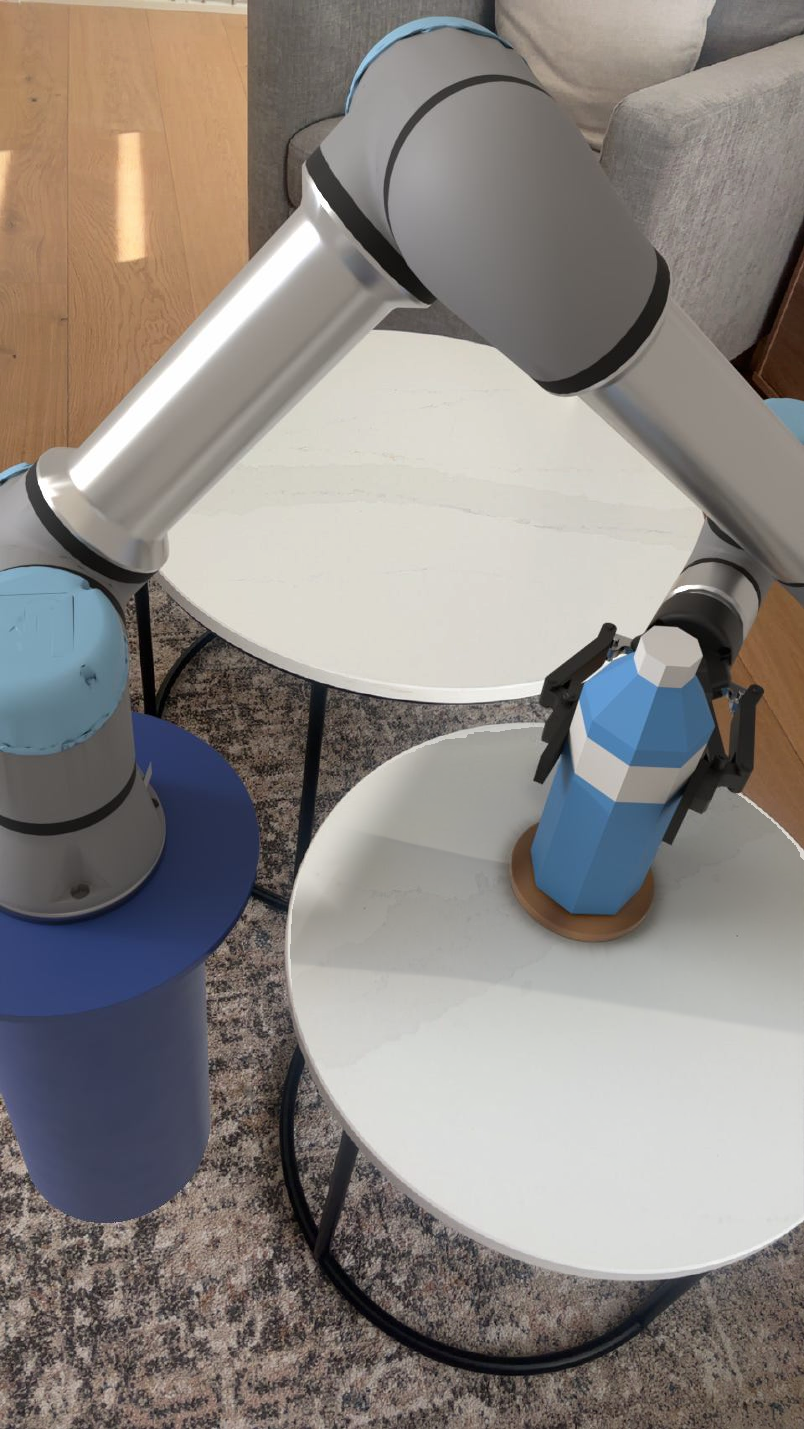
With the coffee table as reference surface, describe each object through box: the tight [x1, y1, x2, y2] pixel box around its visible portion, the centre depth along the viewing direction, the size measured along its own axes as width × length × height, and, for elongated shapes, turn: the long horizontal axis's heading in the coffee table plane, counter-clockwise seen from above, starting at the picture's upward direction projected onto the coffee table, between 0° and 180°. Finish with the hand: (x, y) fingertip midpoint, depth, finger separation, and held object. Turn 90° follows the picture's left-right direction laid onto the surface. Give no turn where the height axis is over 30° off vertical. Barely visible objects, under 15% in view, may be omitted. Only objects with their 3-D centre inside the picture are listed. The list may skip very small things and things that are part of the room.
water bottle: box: [531, 626, 715, 915], centre depth 81 cm, size 9×9×25 cm
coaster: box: [508, 821, 656, 943], centre depth 90 cm, size 12×12×1 cm
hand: (605, 800), depth 77 cm, fingers closed on water bottle, 9 cm apart
